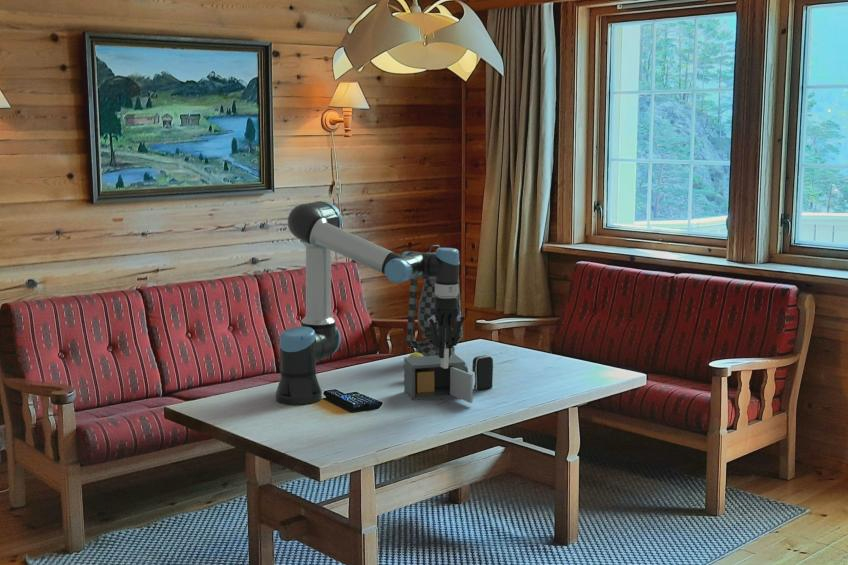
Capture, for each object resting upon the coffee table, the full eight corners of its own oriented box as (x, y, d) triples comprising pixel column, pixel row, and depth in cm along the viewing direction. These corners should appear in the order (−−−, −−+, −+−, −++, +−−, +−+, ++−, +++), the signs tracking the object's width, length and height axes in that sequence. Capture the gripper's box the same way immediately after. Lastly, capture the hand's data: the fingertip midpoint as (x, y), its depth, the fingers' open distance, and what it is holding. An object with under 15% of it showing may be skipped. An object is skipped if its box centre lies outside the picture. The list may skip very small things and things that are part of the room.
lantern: (416, 370, 377) (416, 249, 370) (396, 359, 393) (395, 244, 386) (473, 363, 388) (474, 246, 380) (452, 353, 404) (452, 240, 396)
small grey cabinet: (413, 401, 336) (412, 363, 334) (404, 391, 348) (404, 355, 346) (470, 396, 341) (470, 359, 339) (460, 387, 353) (460, 351, 351)
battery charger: (486, 385, 355) (486, 353, 353) (493, 388, 352) (493, 355, 350) (470, 388, 351) (470, 356, 349) (477, 391, 348) (477, 358, 346)
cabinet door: (474, 402, 330) (474, 374, 328) (470, 403, 329) (470, 374, 328) (453, 394, 340) (453, 366, 338) (450, 394, 339) (450, 367, 337)
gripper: (433, 299, 321) (431, 372, 325) (469, 297, 326) (467, 368, 330) (423, 295, 327) (421, 366, 331) (459, 293, 333) (457, 363, 337)
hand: (444, 367), depth 331 cm, fingers closed
